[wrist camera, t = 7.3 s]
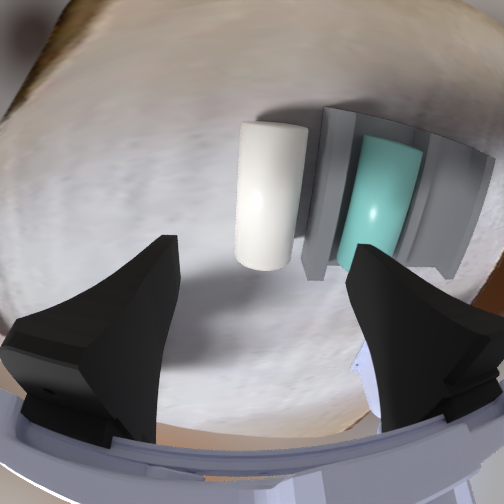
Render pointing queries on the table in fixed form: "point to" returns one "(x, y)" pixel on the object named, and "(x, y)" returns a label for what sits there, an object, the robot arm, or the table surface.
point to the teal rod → (379, 196)
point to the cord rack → (422, 202)
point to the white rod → (268, 192)
